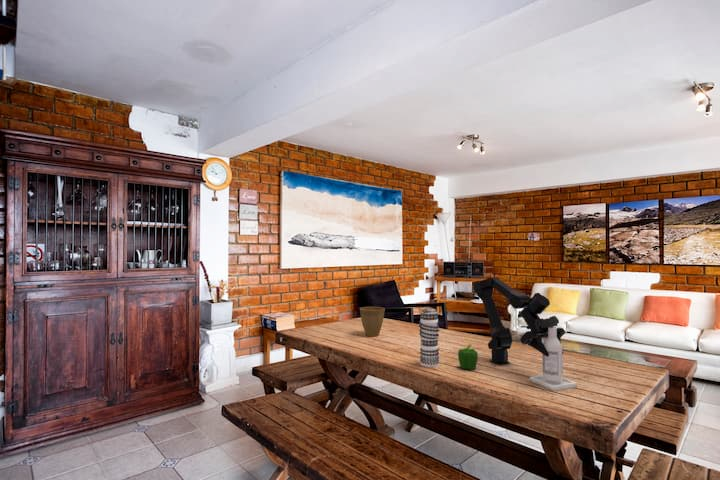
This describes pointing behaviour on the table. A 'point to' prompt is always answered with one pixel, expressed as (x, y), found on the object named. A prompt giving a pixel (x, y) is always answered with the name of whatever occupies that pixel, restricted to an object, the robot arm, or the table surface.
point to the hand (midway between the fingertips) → (555, 355)
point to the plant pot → (372, 320)
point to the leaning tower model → (429, 337)
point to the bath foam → (553, 357)
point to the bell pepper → (467, 358)
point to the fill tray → (553, 383)
